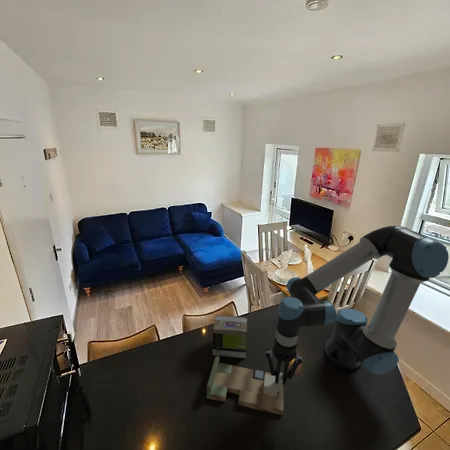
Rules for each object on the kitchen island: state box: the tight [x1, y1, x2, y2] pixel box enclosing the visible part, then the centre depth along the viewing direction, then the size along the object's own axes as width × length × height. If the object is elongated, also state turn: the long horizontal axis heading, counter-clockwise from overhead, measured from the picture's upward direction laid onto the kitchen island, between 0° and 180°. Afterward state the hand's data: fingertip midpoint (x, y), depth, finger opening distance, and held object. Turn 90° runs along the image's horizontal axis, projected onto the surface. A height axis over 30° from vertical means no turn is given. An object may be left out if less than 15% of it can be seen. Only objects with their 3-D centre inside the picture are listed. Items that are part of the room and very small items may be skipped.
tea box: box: [212, 314, 248, 359], centre depth 115 cm, size 15×10×15 cm
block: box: [254, 369, 264, 381], centre depth 103 cm, size 3×3×3 cm
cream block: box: [263, 373, 278, 397], centre depth 96 cm, size 5×5×4 cm
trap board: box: [206, 355, 284, 416], centre depth 98 cm, size 28×14×6 cm, turn 78°
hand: (279, 388), depth 96 cm, fingers closed
